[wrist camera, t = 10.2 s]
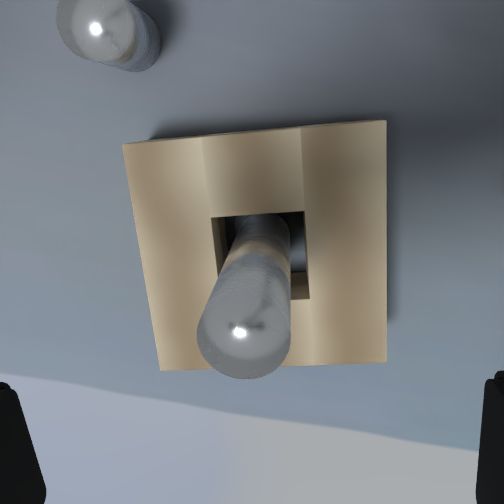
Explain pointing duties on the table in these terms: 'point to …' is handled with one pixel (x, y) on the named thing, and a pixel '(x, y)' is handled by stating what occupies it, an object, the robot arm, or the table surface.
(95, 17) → the short pin
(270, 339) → the long pin
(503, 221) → the table surface
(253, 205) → the bored block
